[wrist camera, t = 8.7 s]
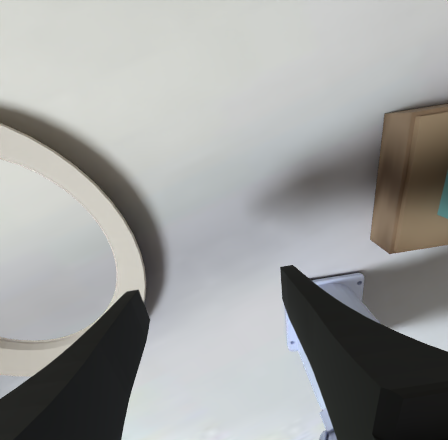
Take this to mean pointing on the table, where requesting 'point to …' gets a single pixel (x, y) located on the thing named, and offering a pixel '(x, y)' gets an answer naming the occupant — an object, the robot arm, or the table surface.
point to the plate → (102, 213)
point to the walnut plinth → (411, 180)
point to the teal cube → (444, 200)
